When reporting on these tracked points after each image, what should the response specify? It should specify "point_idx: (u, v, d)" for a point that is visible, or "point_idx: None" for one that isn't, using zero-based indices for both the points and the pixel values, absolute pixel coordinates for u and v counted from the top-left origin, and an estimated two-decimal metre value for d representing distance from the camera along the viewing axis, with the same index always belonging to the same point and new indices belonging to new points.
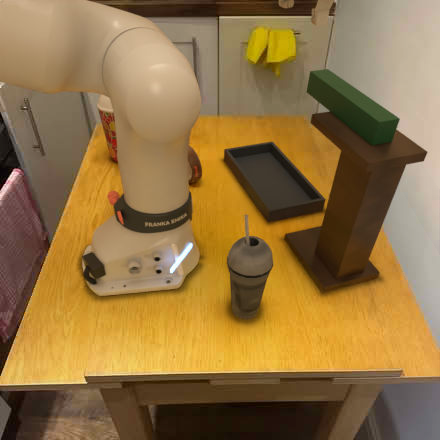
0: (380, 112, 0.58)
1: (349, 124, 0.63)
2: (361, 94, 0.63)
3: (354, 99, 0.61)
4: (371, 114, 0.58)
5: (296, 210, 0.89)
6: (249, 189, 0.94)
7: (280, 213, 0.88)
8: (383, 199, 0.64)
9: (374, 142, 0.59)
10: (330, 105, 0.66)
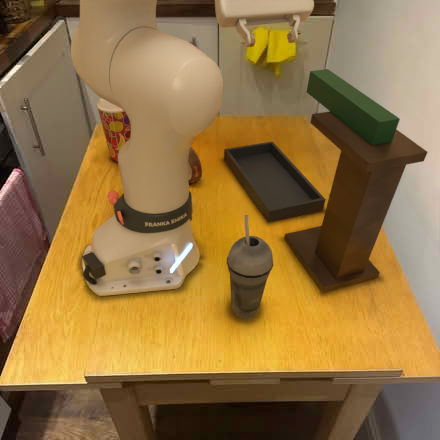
0: (380, 112, 0.58)
1: (349, 124, 0.63)
2: (361, 94, 0.63)
3: (354, 99, 0.61)
4: (371, 114, 0.58)
5: (296, 210, 0.89)
6: (249, 189, 0.94)
7: (280, 213, 0.88)
8: (383, 199, 0.64)
9: (374, 142, 0.59)
10: (330, 105, 0.66)
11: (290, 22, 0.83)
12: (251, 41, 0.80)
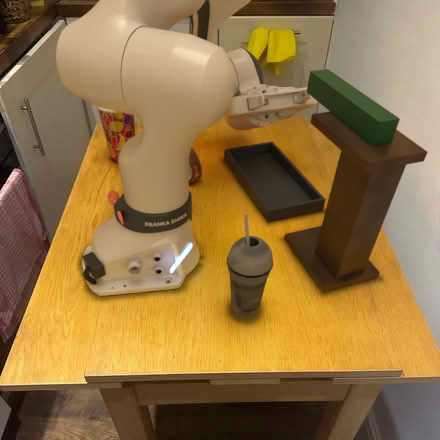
0: (380, 112, 0.58)
1: (349, 124, 0.63)
2: (361, 94, 0.63)
3: (354, 99, 0.61)
4: (371, 114, 0.58)
5: (296, 210, 0.89)
6: (249, 189, 0.94)
7: (280, 213, 0.88)
8: (383, 199, 0.64)
9: (374, 142, 0.59)
10: (330, 105, 0.66)
11: (300, 99, 0.87)
12: (263, 95, 0.80)
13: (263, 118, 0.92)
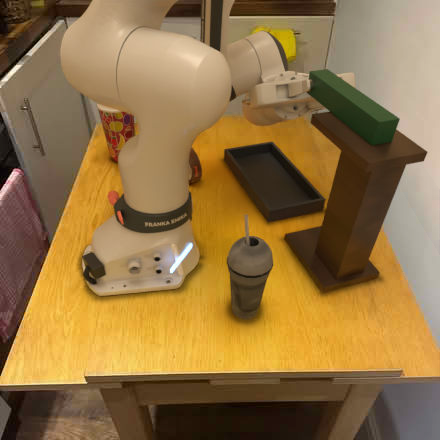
0: (380, 112, 0.58)
1: (349, 124, 0.63)
2: (361, 94, 0.63)
3: (354, 99, 0.61)
4: (371, 114, 0.58)
5: (296, 210, 0.89)
6: (249, 189, 0.94)
7: (280, 213, 0.88)
8: (383, 199, 0.64)
9: (374, 142, 0.59)
10: (330, 105, 0.66)
11: None
12: (309, 79, 0.68)
13: (291, 110, 0.79)
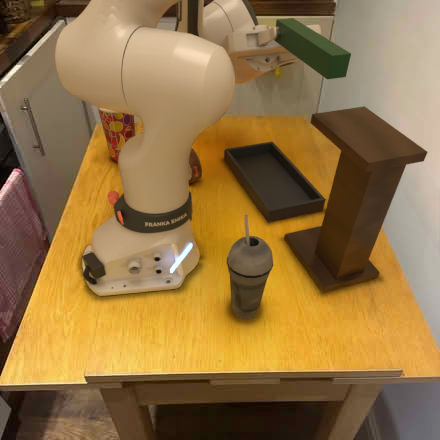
0: (334, 49, 0.65)
1: (309, 63, 0.69)
2: (320, 36, 0.69)
3: (312, 39, 0.68)
4: (326, 50, 0.64)
5: (296, 210, 0.89)
6: (249, 189, 0.94)
7: (280, 213, 0.88)
8: (383, 199, 0.64)
9: (329, 76, 0.65)
10: (293, 48, 0.72)
11: None
12: (275, 26, 0.75)
13: (263, 61, 0.85)
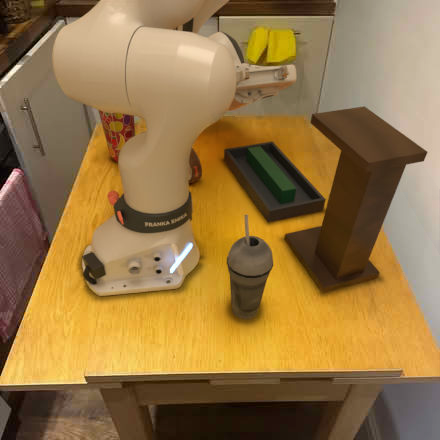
0: (285, 183, 0.92)
1: (269, 188, 0.96)
2: (277, 168, 0.96)
3: (271, 172, 0.94)
4: (279, 185, 0.91)
5: (296, 210, 0.89)
6: (249, 189, 0.94)
7: (280, 213, 0.88)
8: (383, 199, 0.64)
9: (281, 202, 0.92)
10: (259, 173, 0.99)
11: (280, 76, 0.92)
12: (244, 70, 0.86)
13: (246, 95, 0.97)
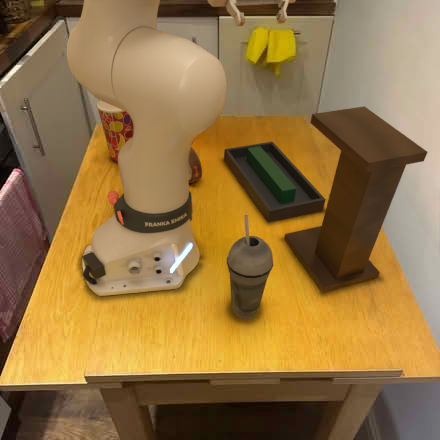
0: (285, 183, 0.92)
1: (269, 188, 0.96)
2: (277, 168, 0.96)
3: (271, 172, 0.94)
4: (279, 185, 0.91)
5: (296, 210, 0.89)
6: (249, 189, 0.94)
7: (280, 213, 0.88)
8: (383, 199, 0.64)
9: (281, 202, 0.92)
10: (259, 173, 0.99)
11: (279, 3, 0.85)
12: (241, 20, 0.81)
13: None
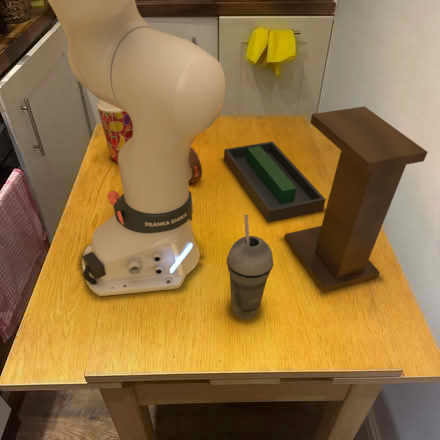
0: (285, 183, 0.92)
1: (269, 188, 0.96)
2: (277, 168, 0.96)
3: (271, 172, 0.94)
4: (279, 185, 0.91)
5: (296, 210, 0.89)
6: (249, 189, 0.94)
7: (280, 213, 0.88)
8: (383, 199, 0.64)
9: (281, 202, 0.92)
10: (259, 173, 0.99)
11: None
12: None
13: None
